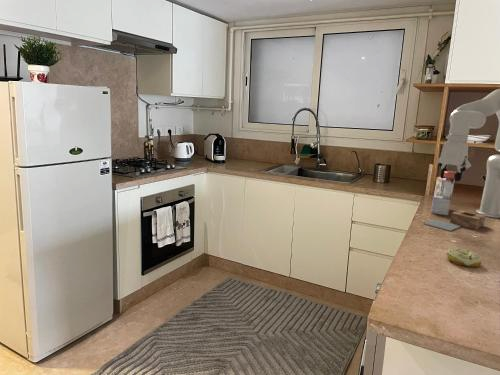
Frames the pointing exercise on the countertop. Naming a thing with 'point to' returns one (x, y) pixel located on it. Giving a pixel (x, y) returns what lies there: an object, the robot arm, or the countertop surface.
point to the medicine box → (440, 206)
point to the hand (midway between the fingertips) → (450, 179)
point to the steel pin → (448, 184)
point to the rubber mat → (442, 225)
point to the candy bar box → (439, 186)
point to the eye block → (467, 219)
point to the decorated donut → (464, 257)
